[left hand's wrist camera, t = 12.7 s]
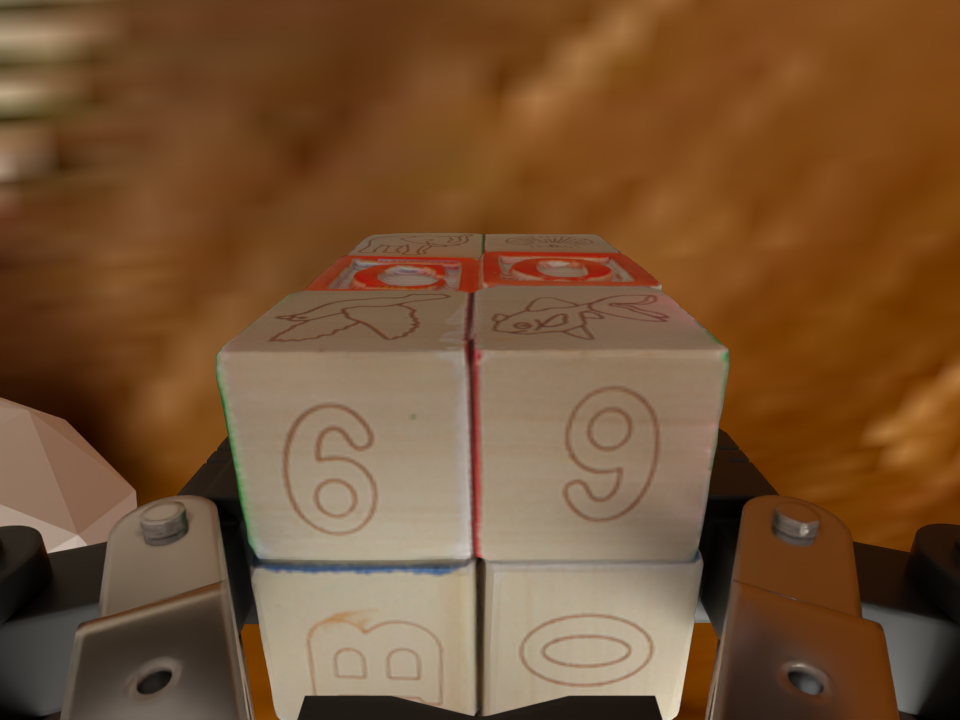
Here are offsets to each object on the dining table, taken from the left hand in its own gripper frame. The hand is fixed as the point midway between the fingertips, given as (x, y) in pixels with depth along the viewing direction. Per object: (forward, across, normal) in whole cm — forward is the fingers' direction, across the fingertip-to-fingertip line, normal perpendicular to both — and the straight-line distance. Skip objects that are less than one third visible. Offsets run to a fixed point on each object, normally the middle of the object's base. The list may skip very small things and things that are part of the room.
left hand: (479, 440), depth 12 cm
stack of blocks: (+5, 0, -7) cm, 9 cm away
